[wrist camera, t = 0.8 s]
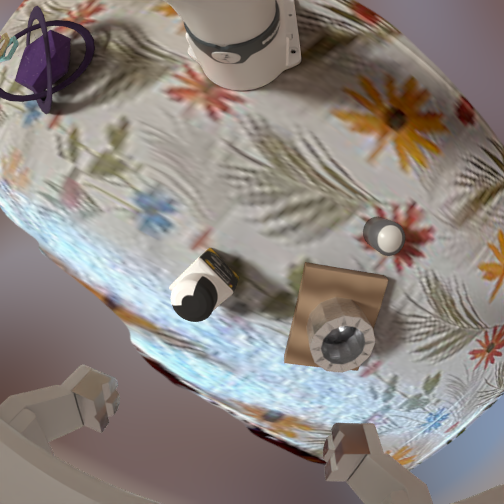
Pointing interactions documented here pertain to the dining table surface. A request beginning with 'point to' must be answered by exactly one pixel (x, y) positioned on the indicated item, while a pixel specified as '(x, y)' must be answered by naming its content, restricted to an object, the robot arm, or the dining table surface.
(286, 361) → the mounting block
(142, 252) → the dining table surface
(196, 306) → the medicine bottle
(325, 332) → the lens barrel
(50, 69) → the decorative bottle
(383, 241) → the gray white-topped cylinder
